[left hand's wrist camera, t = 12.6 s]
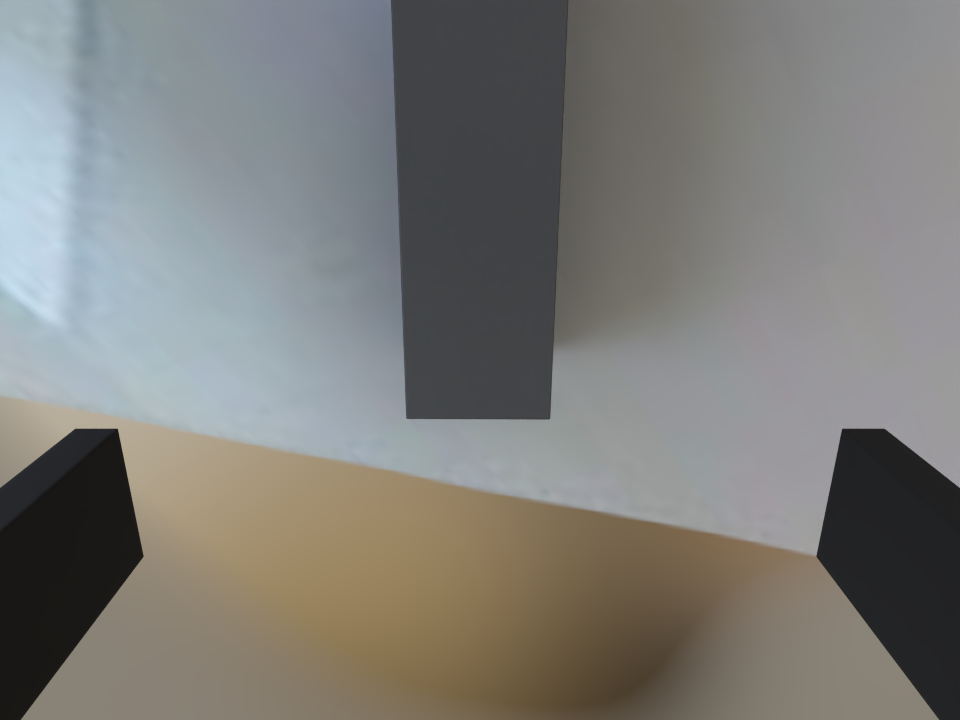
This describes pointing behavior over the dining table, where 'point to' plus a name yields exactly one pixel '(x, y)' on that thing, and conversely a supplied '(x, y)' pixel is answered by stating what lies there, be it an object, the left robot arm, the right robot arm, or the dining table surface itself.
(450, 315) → the beam
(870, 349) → the dining table surface
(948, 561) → the left robot arm
